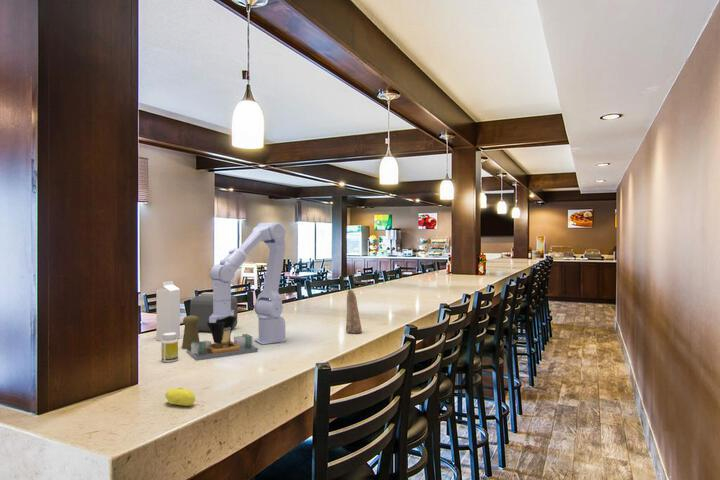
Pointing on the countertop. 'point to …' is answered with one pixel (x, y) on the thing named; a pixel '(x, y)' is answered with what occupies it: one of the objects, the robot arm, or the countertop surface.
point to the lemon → (180, 396)
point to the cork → (190, 331)
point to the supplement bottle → (169, 347)
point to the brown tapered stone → (352, 315)
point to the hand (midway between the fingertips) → (222, 340)
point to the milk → (168, 310)
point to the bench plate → (209, 350)
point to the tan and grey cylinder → (225, 338)
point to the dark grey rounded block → (208, 309)
